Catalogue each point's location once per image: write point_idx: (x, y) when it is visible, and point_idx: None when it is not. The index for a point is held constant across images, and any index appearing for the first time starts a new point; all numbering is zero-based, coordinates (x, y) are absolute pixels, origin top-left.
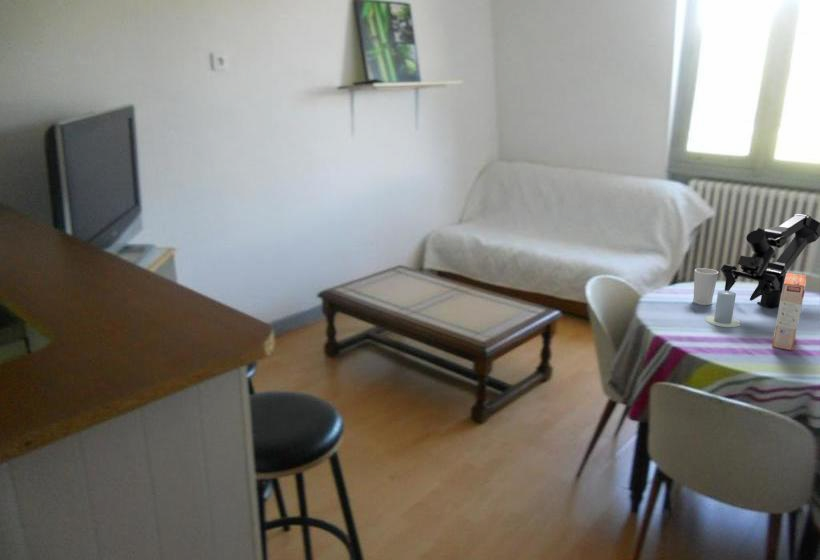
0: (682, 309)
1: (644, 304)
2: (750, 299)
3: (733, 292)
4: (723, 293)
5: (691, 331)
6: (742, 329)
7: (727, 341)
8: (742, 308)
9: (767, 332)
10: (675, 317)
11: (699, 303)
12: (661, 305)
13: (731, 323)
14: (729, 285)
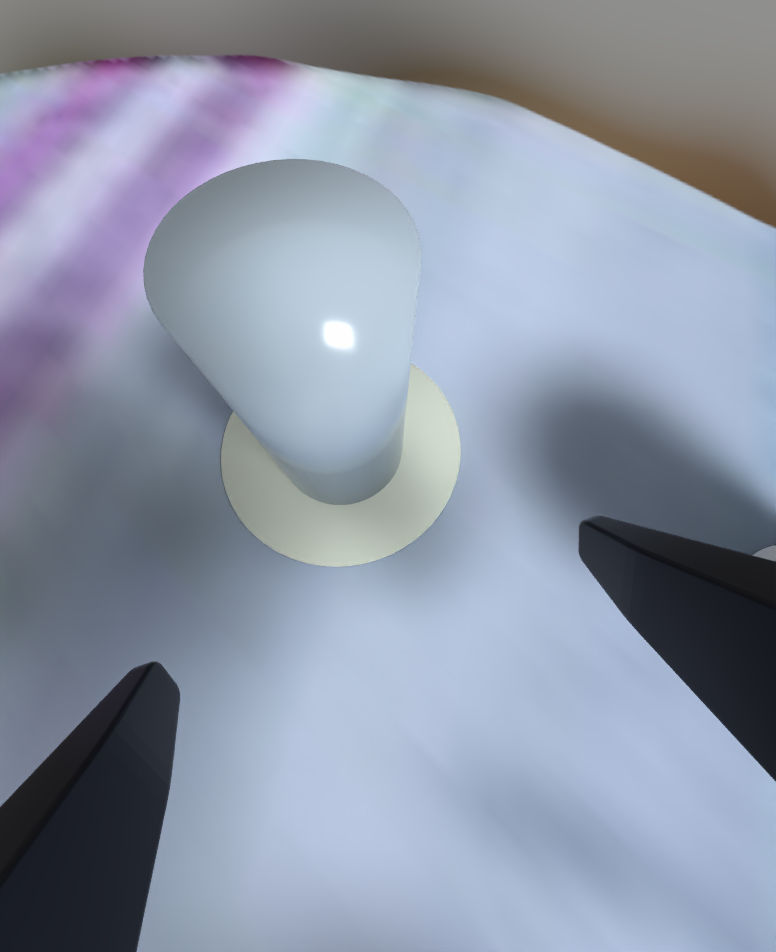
0: (630, 358)
1: (742, 219)
2: (144, 664)
3: (264, 362)
4: (288, 202)
5: None
6: (164, 464)
7: (77, 258)
8: (607, 924)
9: (26, 598)
10: (490, 241)
11: (759, 555)
12: (721, 290)
13: (277, 467)
14: (751, 662)
